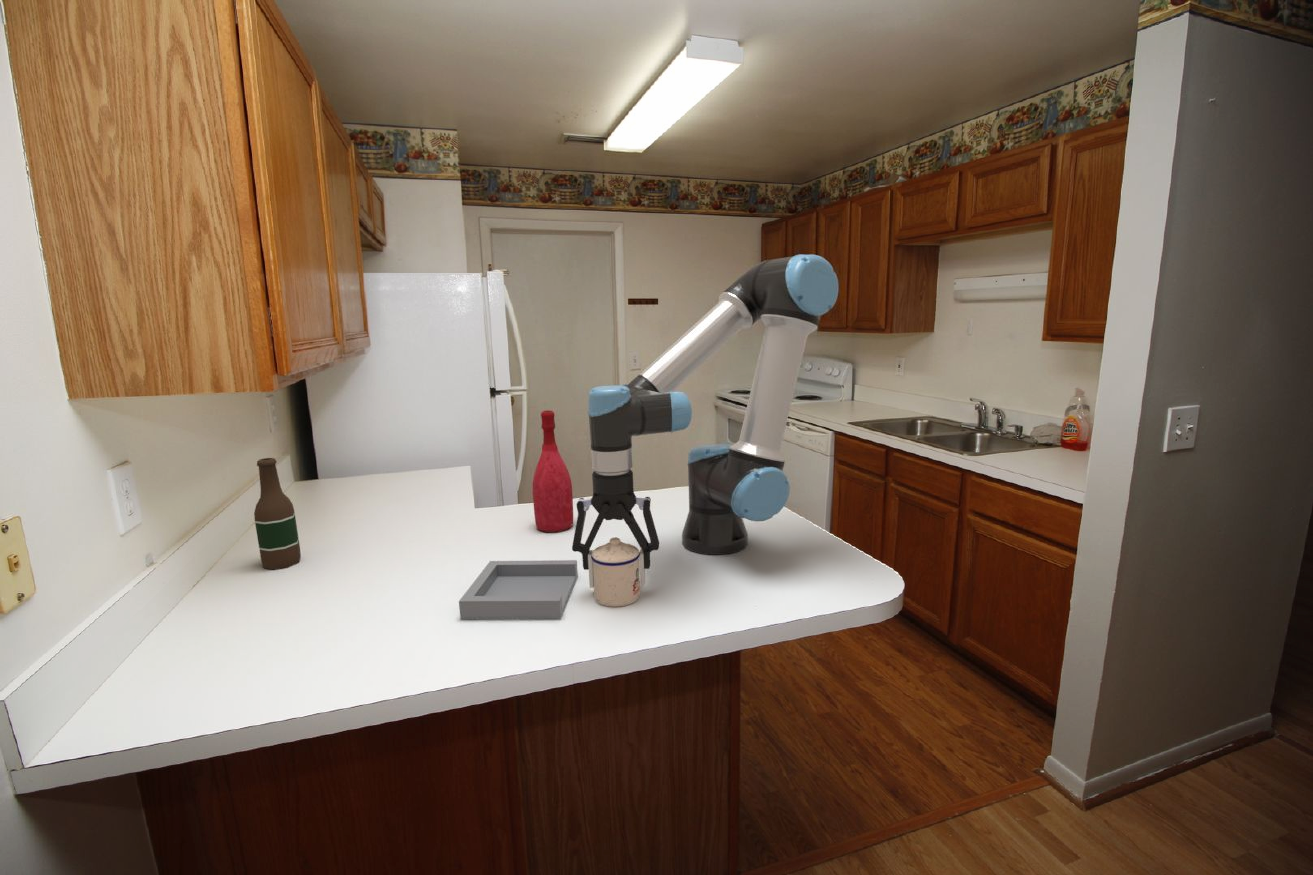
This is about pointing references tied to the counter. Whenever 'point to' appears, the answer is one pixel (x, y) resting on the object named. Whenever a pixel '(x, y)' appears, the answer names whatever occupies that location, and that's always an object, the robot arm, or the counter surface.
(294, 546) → the beer bottle
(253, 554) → the counter surface
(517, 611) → the shallow gray tray
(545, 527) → the wine bottle
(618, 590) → the teacup with lid
